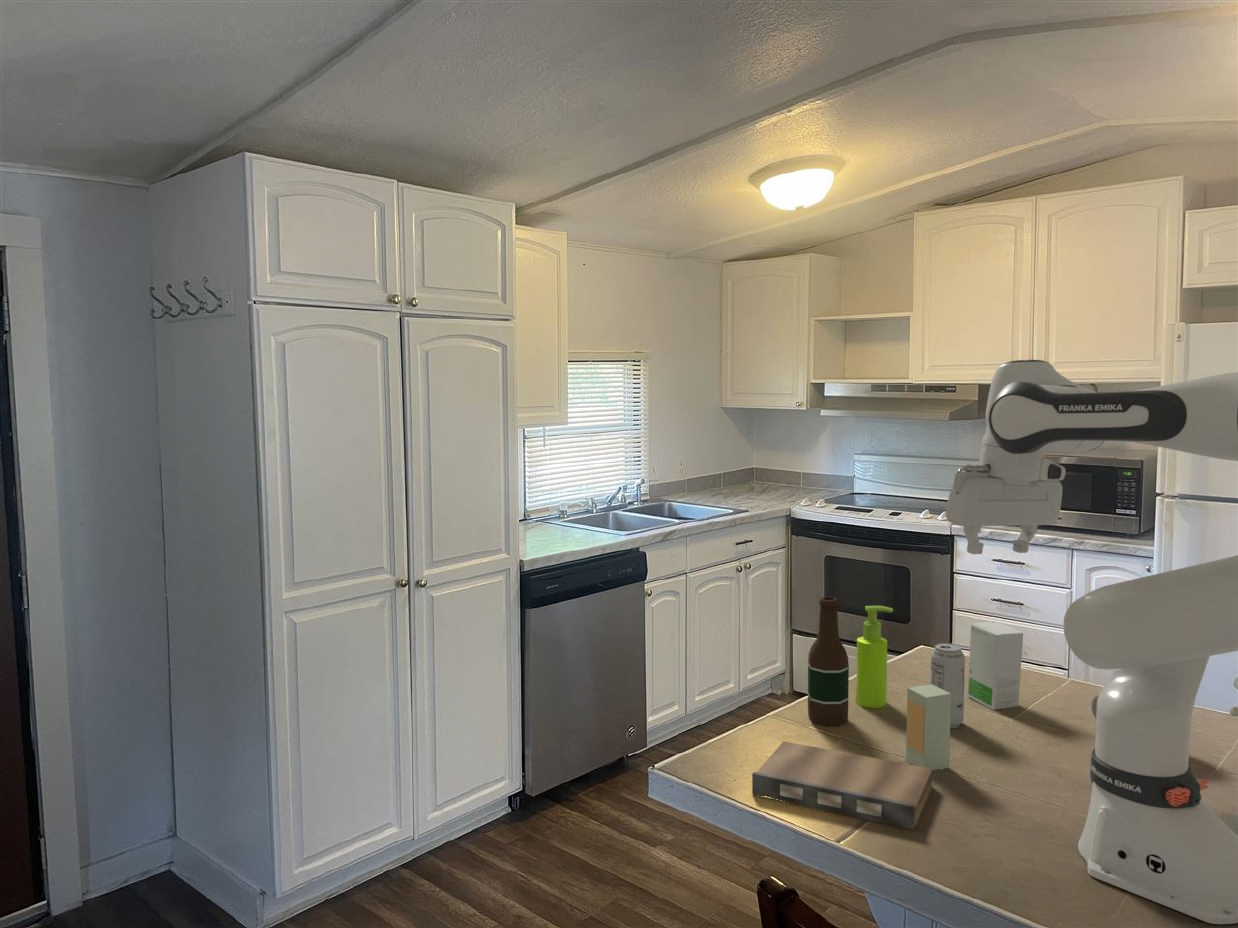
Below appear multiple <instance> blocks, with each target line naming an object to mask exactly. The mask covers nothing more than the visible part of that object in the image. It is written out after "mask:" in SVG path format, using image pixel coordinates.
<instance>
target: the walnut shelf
mask: <svg viewBox="0 0 1238 928" xmlns="http://www.w3.org/2000/svg"><path fill="white" fill-rule="evenodd" d="M933 772H934V771H933V769H931V768H926V767H920V766H915V765H912V764H909V763H903V762H899V761H892V760H886V759H883V758H876V757H872V756H871V757H870V756H865V755H860V754H854V753H849V752H844V751H839V750H838V751H837V750H832V749H828V748H822V747H817V746H811V745H806V744H801V743H795V742H790V741H782V742H781V743H780V745H779V746H777V748H776V749H775V751H773V753H772V754H771V755H770V756H769V758H767V760H766V761H765V762H764V763H763V764H762V766H761V767H760V768H759V769H758V770H757V771H753V772H752V773H751V775H752V776H751V777H752V781H751V782H752V783H751V785H752V788H751V789H752V791H751V792H752V794H754V795H759V796H767V797H771V798H774V799H778V800H782V801H785V802H784V803H786V802H789V803H788V804H791V803H794V804H793V805H796V804H798V805H797V806H800V805H802V806H801V807H805V806H806V807H807V808H809V807H811V808H810V809H814V808H816V809H815V810H820V811H823V812H829V813H833V814H837V815H842V816H845V817H846V816H847V817H850V818H851V817H852V818H855V819H860V820H866V821H870V822H875V823H880V824H883V825H887V826H892V827H898V828H902V829H907V830H912V831H914V830H915V828H916V826H917V823H918V821H919V819H920V816H921V814H922V811H923V809H924V807H925V804H926V802H927V800H928V798H929V795H930V794H931V793H930V792H931V791H932V788H933ZM752 794H751V795H752ZM754 795H753V796H754ZM759 796H758V797H759ZM782 801H781V802H782Z"/></svg>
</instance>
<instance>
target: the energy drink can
mask: <svg viewBox="0 0 1238 928" xmlns="http://www.w3.org/2000/svg"><path fill="white" fill-rule="evenodd" d="M962 650H963V649H962V647H961V645H958V644H955V643H951V642H950V643H949V642H948V643H947V642H941V643H936V644H934V649H933V650H932V652H931V654H930V684H932V685H934V686H936V687H938V688H940V689H942V690H945V691H947V692H949V693H951V713H950V729H956V728H959V727H960V726H961V724H962V723H963V722H964V711H965V707H964V706H965V704H964V703H965V671H966V669H965V667H966V664H965V663H966V658H965V657H966V656H965V654H964V652H963V651H962Z"/></svg>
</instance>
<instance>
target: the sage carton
mask: <svg viewBox="0 0 1238 928" xmlns="http://www.w3.org/2000/svg"><path fill="white" fill-rule="evenodd" d="M906 688H907V689H906V690H907V693H906V695H907V696H906V743H905V744H906V745H905V746H906V748H905V749H906V752H905V755H906V756H905V760H906V761H907V762H908V764H909V763H910V765H915V766H920V767H926V768H931V769H933V772H935V771H939V770H938V769H940V770H945V768H946V769H949V768H950V755H951V754H950V753H951V752H950V751H951V748H950V747H951V728H950V713H951V693H949V692H947V691H945V690H942V689H940V688H938V687H936V686H934V685H932V684H931V683H930V684H923V685H919V686H918V685H916V686H911V687H906ZM934 770H935V771H934Z"/></svg>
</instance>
